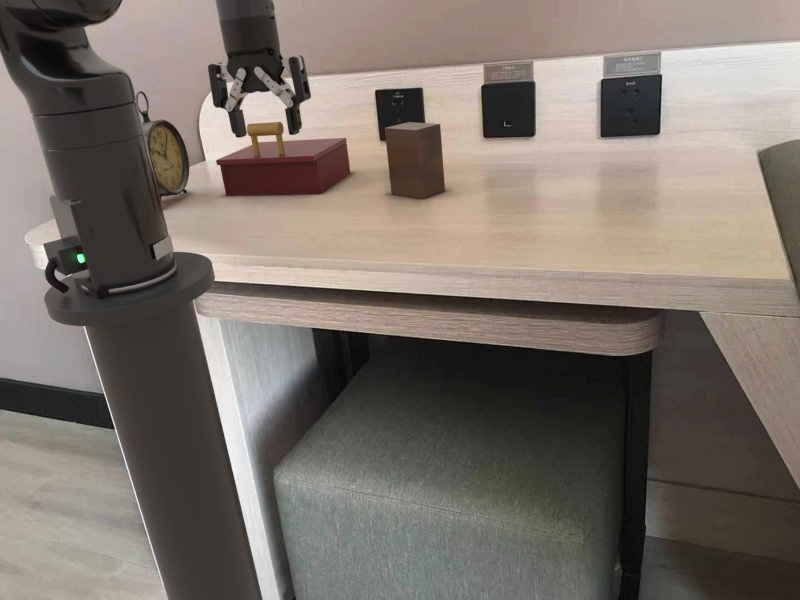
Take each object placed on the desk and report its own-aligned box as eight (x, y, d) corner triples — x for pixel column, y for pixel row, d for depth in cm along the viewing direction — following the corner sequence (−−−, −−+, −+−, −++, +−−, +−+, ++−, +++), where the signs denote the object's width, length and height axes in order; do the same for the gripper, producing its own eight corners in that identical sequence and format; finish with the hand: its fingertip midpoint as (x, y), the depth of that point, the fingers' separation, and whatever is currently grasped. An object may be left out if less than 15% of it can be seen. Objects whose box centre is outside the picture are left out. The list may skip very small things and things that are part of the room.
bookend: (422, 199, 90) (416, 130, 86) (391, 194, 94) (384, 128, 91) (445, 191, 93) (440, 123, 89) (414, 186, 97) (408, 122, 93)
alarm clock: (164, 211, 98) (136, 94, 91) (130, 212, 99) (100, 97, 92) (198, 191, 108) (175, 85, 101) (167, 193, 109) (142, 88, 102)
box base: (321, 193, 98) (316, 160, 96) (226, 196, 103) (219, 164, 101) (350, 173, 109) (346, 143, 107) (263, 176, 114) (258, 147, 112)
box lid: (314, 161, 96) (308, 122, 94) (216, 165, 100) (209, 128, 98) (346, 142, 107) (342, 107, 105) (258, 147, 112) (252, 113, 110)
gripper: (186, 21, 91) (211, 143, 97) (282, 10, 87) (302, 138, 93) (214, 18, 97) (237, 133, 104) (305, 8, 93) (323, 128, 100)
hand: (267, 135), depth 98 cm, fingers open, 8 cm apart
